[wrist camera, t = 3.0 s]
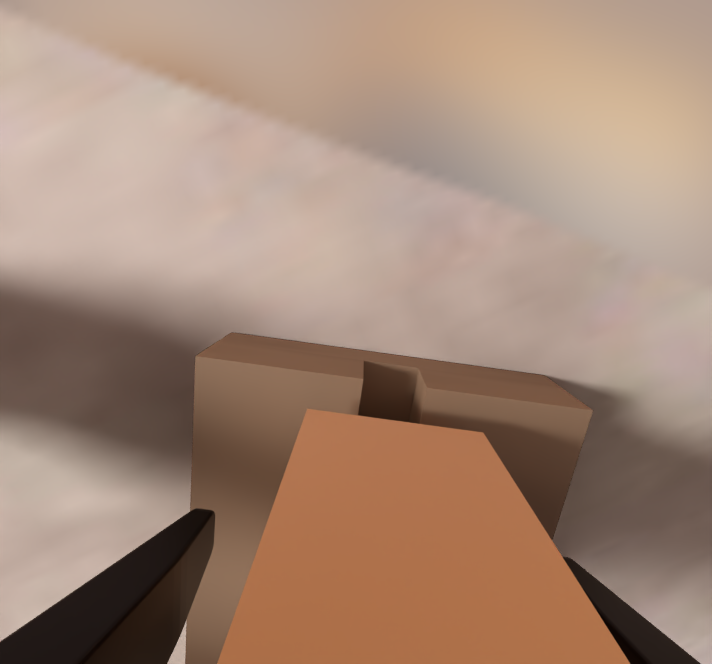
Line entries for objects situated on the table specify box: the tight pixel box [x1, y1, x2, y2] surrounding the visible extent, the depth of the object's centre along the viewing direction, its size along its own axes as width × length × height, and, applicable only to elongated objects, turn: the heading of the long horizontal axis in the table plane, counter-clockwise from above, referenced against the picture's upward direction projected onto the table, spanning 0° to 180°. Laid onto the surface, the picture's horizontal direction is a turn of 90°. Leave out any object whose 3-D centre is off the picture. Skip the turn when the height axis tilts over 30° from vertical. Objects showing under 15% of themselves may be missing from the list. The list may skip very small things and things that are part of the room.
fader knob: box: [217, 409, 630, 664], centre depth 7 cm, size 5×4×8 cm
